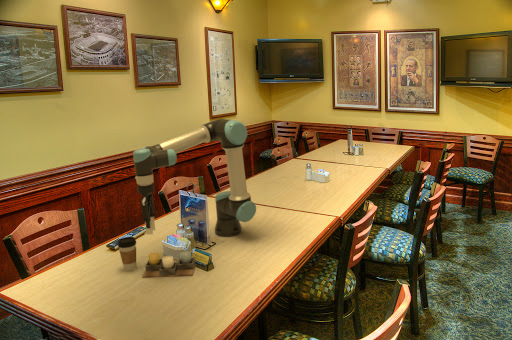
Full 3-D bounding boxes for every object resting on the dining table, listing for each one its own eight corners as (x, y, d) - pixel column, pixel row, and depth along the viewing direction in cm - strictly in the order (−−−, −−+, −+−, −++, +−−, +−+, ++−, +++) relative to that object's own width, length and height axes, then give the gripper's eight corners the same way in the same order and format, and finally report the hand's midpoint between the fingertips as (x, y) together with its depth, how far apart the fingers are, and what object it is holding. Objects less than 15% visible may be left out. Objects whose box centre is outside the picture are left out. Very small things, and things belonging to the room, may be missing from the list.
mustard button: (161, 260, 210) (160, 252, 209) (158, 264, 205) (157, 256, 204) (150, 260, 210) (149, 252, 209) (148, 265, 206) (147, 257, 205)
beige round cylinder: (174, 263, 206) (174, 255, 205) (172, 268, 201) (172, 260, 200) (164, 264, 206) (163, 256, 205) (161, 268, 201) (161, 260, 200)
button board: (196, 263, 213) (196, 256, 212) (192, 275, 200) (192, 268, 199) (149, 265, 213) (148, 258, 212) (142, 278, 201) (141, 271, 200)
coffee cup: (117, 269, 210) (113, 240, 207) (132, 262, 217) (128, 234, 213) (128, 274, 205) (124, 244, 202) (143, 266, 212) (139, 237, 208)
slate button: (192, 258, 210) (191, 250, 209) (190, 263, 205) (190, 255, 204) (181, 259, 210) (181, 251, 209) (180, 263, 205) (179, 255, 204)
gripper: (142, 178, 207) (147, 225, 213) (131, 189, 190) (137, 239, 196) (157, 178, 207) (163, 225, 212) (148, 188, 190) (154, 239, 196)
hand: (151, 232), depth 204 cm, fingers open, 4 cm apart
